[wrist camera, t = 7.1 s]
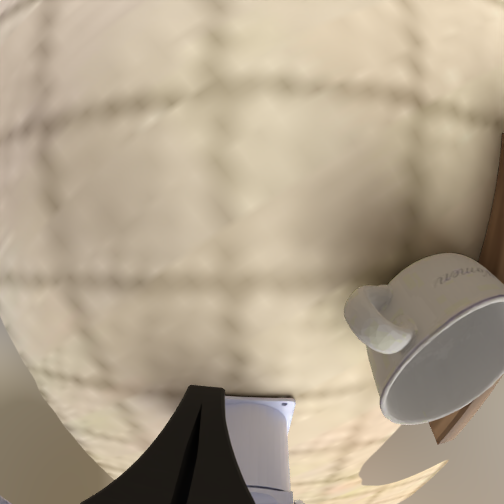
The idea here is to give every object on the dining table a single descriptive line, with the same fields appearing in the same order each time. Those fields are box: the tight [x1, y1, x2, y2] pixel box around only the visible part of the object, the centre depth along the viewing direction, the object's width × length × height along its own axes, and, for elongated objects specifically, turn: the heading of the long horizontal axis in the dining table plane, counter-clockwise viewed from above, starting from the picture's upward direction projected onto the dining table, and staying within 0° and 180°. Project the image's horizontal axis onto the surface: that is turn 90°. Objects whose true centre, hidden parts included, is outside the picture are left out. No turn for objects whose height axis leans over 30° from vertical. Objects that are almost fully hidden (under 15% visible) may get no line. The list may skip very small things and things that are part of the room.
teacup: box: [344, 253, 504, 425], centre depth 16 cm, size 14×11×8 cm
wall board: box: [429, 133, 504, 445], centre depth 16 cm, size 2×26×7 cm, turn 178°
